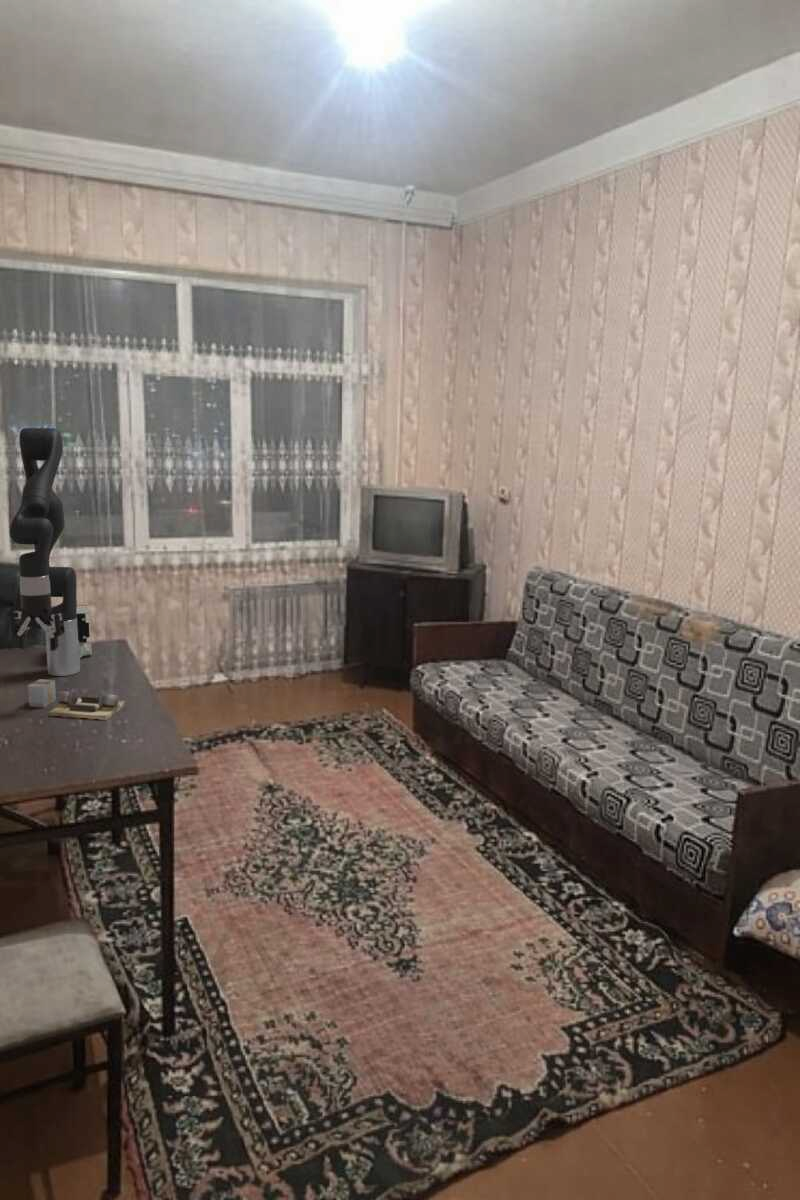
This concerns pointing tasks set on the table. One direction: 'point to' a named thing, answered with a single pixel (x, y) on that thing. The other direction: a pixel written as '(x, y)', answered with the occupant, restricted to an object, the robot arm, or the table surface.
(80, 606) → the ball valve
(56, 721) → the table surface
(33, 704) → the block
